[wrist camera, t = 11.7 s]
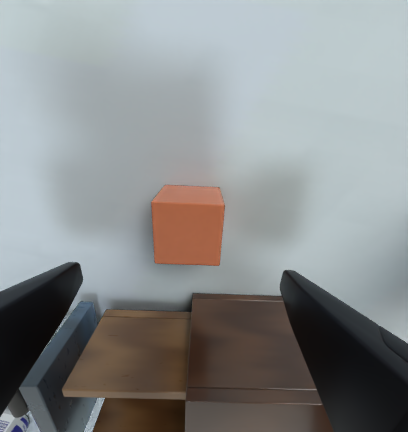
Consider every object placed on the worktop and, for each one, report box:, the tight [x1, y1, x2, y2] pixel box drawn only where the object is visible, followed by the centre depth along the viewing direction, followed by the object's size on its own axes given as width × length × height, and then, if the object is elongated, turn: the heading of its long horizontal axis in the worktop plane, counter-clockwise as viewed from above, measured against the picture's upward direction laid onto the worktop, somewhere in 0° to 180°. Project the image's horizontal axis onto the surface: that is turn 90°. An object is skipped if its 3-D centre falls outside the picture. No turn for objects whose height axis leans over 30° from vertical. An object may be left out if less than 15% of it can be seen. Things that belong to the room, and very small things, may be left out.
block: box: [151, 185, 225, 266], centre depth 14 cm, size 4×4×4 cm
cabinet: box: [185, 293, 334, 432], centre depth 17 cm, size 13×11×8 cm
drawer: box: [7, 302, 191, 432], centre depth 17 cm, size 17×10×7 cm, turn 87°
